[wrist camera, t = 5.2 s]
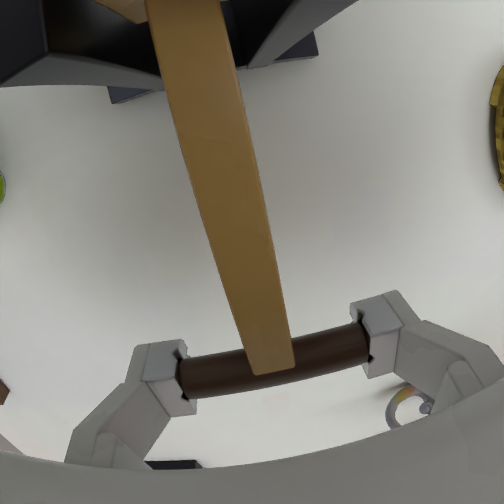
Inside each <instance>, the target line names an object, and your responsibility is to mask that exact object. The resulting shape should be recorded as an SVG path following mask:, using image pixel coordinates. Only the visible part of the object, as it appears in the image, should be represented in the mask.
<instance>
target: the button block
mask: <svg viewBox="0 0 504 504" xmlns="http://www.w3.org/2000/svg"><path fill="white" fill-rule="evenodd" d="M8 393H9V389H8V388H7V387H6V386H5V385H4V383H3V382H2V381H1V380H0V405H3V404H4V402H5V400H6V398H7V396H8Z"/></svg>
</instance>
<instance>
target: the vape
mask: <svg viewBox="0 0 504 504" xmlns="http://www.w3.org/2000/svg"><path fill="white" fill-rule="evenodd" d="M4 195H5V181H4V178H3V176H2V174H1V172H0V204H1V202H2V200H3V198H4Z"/></svg>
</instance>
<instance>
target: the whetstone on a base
mask: <svg viewBox="0 0 504 504" xmlns="http://www.w3.org/2000/svg"><path fill="white" fill-rule="evenodd" d="M145 463H146V464H147V465H149V466H150V467H151V468H152V469H153V470H183V469H203V468H202V467H201V466H200V465H199V464H198V463H197V461H196V460H189V461H163V462H145Z"/></svg>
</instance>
